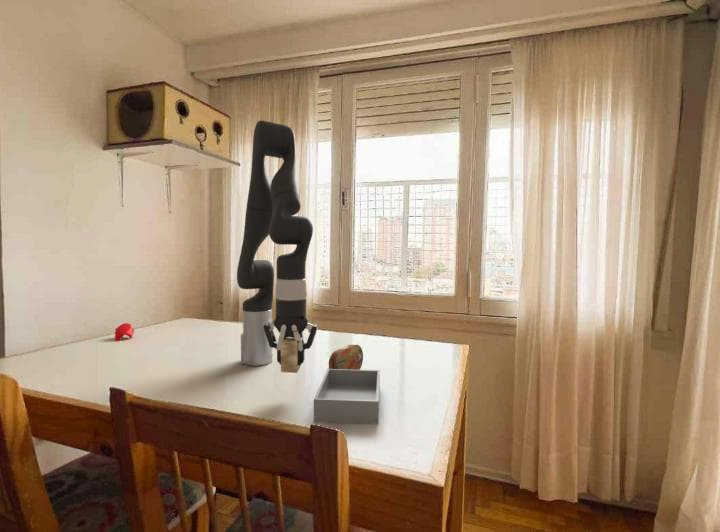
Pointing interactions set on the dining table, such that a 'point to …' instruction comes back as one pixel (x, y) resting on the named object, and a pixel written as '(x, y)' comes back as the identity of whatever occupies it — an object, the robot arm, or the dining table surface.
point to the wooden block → (289, 355)
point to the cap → (123, 331)
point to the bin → (348, 397)
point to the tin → (347, 358)
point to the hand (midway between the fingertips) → (290, 363)
